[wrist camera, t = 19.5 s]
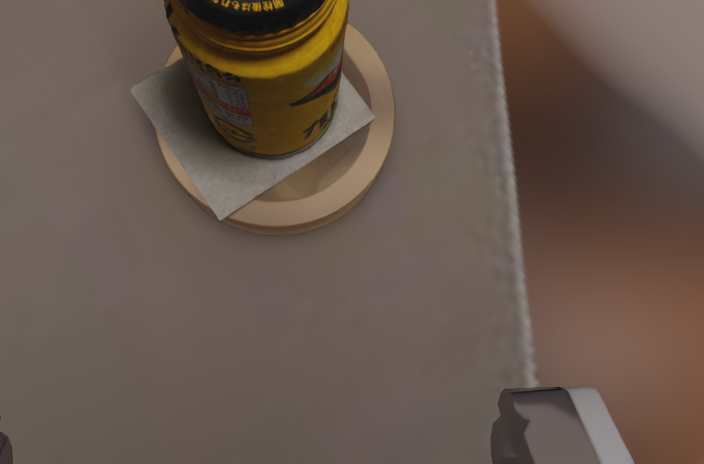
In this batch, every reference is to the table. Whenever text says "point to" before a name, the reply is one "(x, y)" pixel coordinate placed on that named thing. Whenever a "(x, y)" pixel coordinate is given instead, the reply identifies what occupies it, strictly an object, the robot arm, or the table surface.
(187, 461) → the table surface
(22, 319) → the table surface
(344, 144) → the coaster
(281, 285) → the table surface
